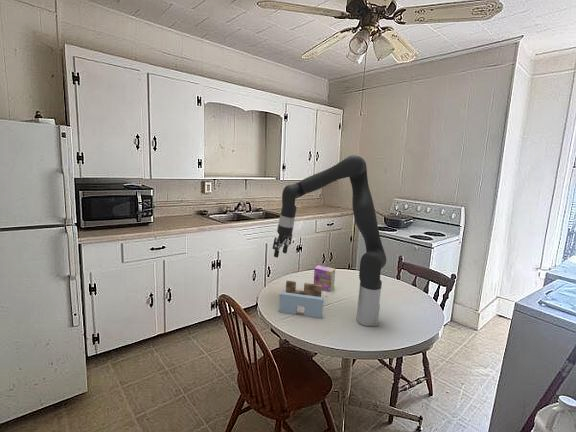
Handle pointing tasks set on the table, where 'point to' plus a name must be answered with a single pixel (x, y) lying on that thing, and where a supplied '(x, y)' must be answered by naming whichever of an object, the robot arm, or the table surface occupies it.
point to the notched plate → (301, 304)
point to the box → (324, 277)
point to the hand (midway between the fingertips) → (280, 254)
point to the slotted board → (308, 289)
